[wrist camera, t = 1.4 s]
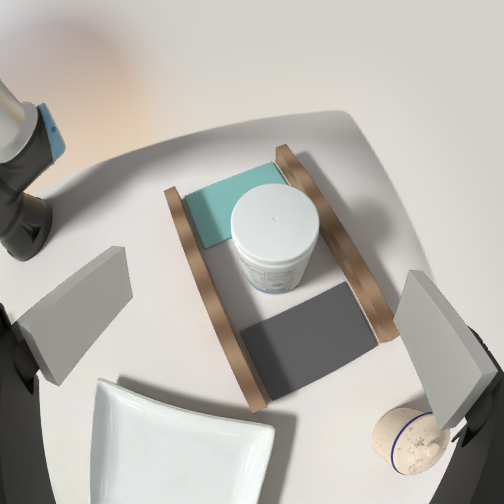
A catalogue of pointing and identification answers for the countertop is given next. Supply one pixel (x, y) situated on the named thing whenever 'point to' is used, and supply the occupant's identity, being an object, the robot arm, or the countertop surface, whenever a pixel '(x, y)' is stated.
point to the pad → (225, 202)
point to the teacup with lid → (409, 440)
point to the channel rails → (337, 243)
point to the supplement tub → (274, 236)
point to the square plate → (172, 453)
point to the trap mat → (308, 341)
